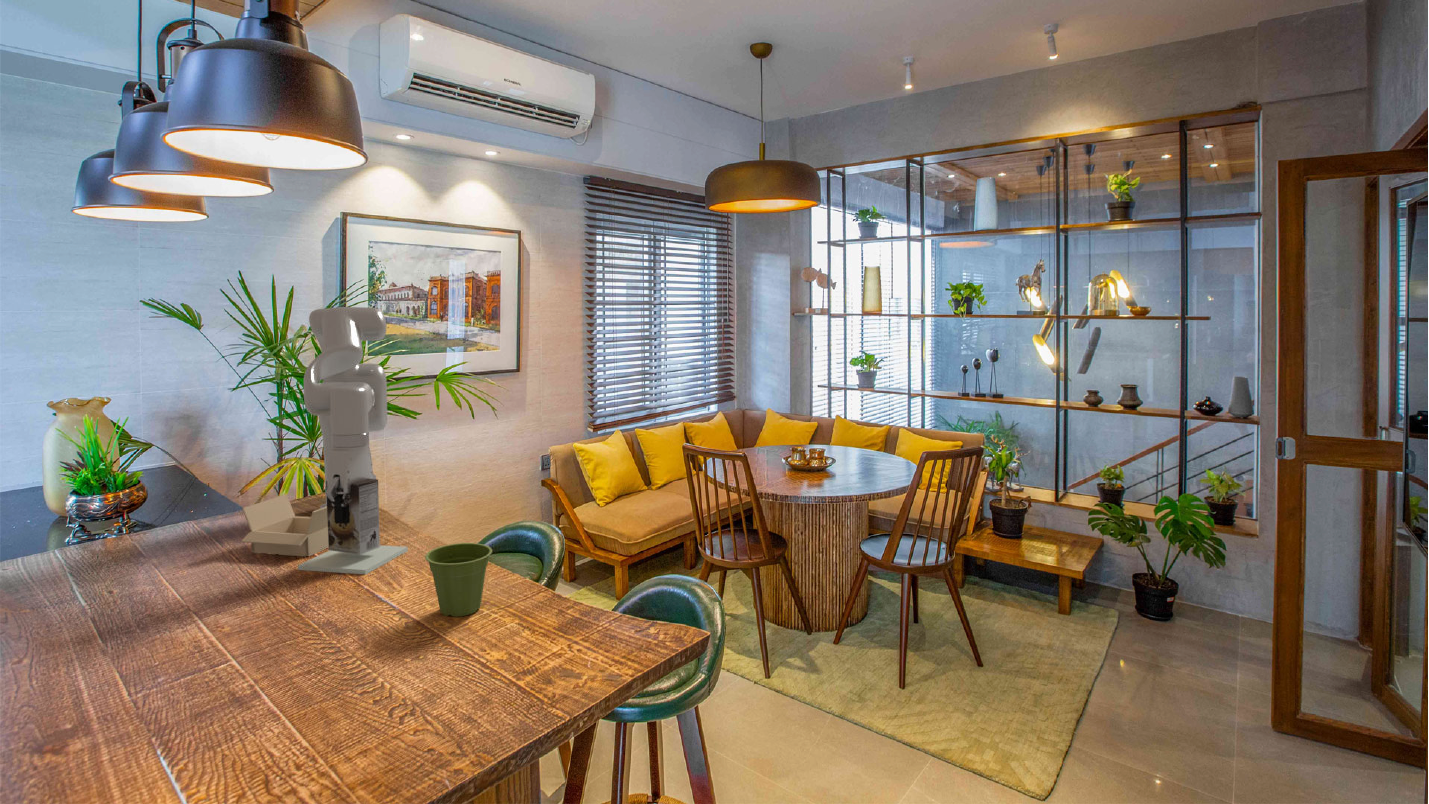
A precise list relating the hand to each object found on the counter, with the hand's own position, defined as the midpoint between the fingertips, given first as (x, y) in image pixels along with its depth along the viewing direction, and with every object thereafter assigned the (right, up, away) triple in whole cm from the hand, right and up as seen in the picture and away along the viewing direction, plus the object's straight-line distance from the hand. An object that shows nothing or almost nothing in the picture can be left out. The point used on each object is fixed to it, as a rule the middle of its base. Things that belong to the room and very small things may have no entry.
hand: (353, 517), depth 157 cm
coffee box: (0, -7, +1) cm, 7 cm away
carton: (-18, -8, +10) cm, 22 cm away
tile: (0, -10, +1) cm, 10 cm away
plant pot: (+34, -13, -26) cm, 44 cm away
